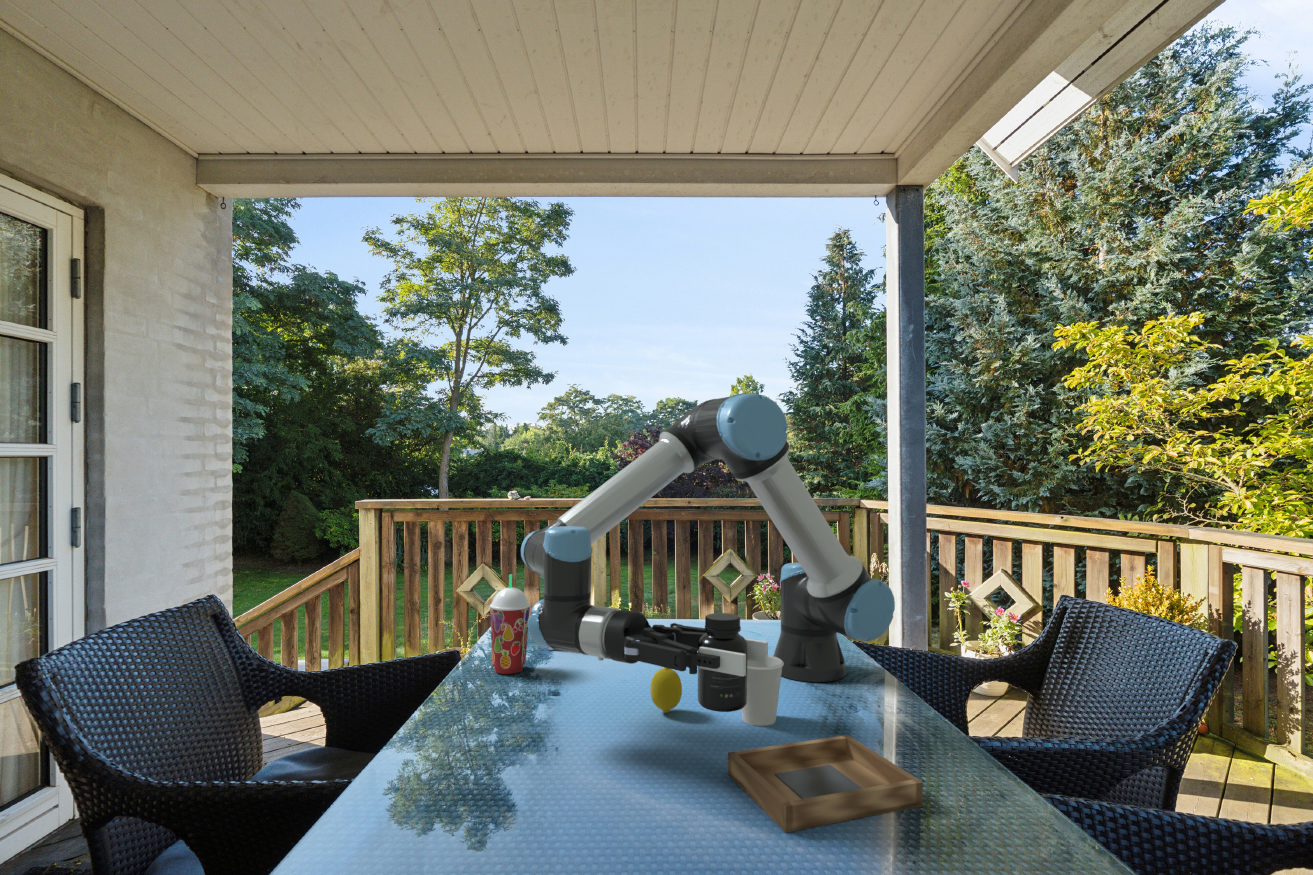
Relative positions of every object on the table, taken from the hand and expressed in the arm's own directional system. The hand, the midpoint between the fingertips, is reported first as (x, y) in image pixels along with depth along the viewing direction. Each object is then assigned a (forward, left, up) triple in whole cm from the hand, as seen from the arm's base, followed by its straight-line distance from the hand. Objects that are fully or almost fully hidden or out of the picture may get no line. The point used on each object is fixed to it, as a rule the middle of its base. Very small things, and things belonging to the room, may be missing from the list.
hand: (755, 658), depth 91 cm
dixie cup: (-13, -23, -18) cm, 32 cm away
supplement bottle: (+3, -4, -7) cm, 9 cm away
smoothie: (+24, -64, -18) cm, 71 cm away
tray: (-9, +2, -18) cm, 20 cm away
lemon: (+1, -31, -18) cm, 36 cm away
